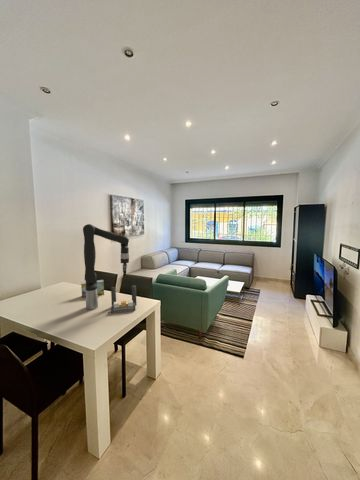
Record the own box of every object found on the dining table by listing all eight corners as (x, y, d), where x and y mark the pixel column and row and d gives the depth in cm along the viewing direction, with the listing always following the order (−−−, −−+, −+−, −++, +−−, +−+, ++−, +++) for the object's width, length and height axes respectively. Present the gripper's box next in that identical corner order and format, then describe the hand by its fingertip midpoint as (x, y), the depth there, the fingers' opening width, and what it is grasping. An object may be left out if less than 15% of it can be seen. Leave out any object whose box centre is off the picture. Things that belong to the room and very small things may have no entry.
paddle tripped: (121, 307, 169) (120, 303, 169) (121, 305, 173) (121, 301, 173) (125, 306, 170) (125, 302, 170) (126, 304, 174) (125, 300, 173)
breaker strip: (111, 313, 166) (111, 308, 166) (112, 309, 173) (112, 304, 172) (135, 310, 171) (135, 305, 170) (135, 307, 177) (135, 302, 177)
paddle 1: (113, 307, 168) (113, 303, 167) (114, 305, 172) (114, 302, 171) (118, 307, 169) (118, 303, 168) (119, 305, 172) (118, 301, 172)
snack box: (81, 297, 199) (81, 283, 197) (82, 295, 204) (81, 281, 202) (104, 294, 207) (103, 281, 205) (104, 292, 212) (103, 279, 210)
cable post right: (132, 305, 180) (131, 287, 178) (132, 304, 184) (131, 285, 182) (136, 305, 181) (135, 286, 179) (136, 303, 185) (135, 285, 183)
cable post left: (111, 308, 176) (110, 288, 174) (112, 306, 180) (111, 287, 178) (116, 307, 177) (115, 288, 175) (116, 305, 181) (115, 286, 179)
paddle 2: (128, 306, 170) (128, 302, 170) (128, 304, 174) (128, 300, 174) (132, 305, 171) (132, 302, 171) (133, 303, 175) (132, 300, 175)
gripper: (121, 256, 189) (121, 272, 191) (120, 259, 176) (120, 276, 177) (129, 256, 191) (129, 272, 193) (128, 259, 177) (128, 276, 179)
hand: (124, 274), depth 185 cm, fingers open, 8 cm apart
